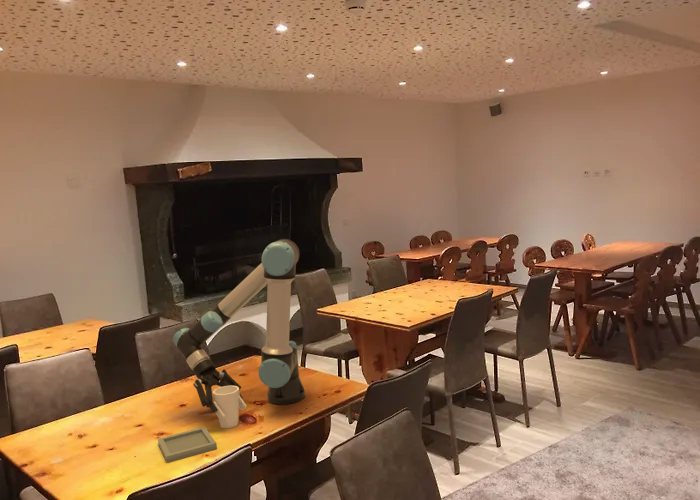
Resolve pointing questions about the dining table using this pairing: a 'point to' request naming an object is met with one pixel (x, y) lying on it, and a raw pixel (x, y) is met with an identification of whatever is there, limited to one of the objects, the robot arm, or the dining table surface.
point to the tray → (186, 444)
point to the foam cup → (228, 404)
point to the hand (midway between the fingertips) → (233, 413)
